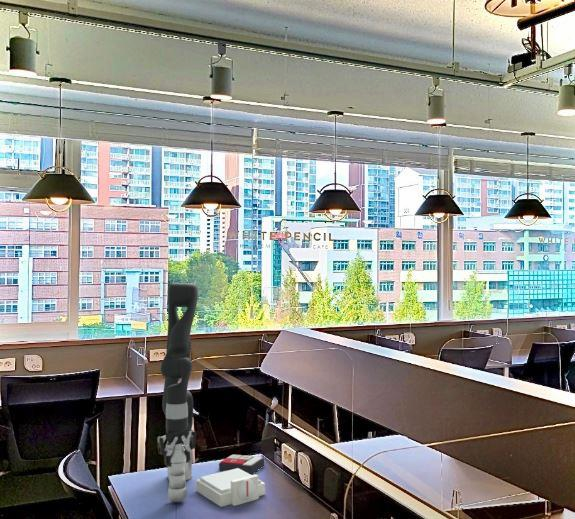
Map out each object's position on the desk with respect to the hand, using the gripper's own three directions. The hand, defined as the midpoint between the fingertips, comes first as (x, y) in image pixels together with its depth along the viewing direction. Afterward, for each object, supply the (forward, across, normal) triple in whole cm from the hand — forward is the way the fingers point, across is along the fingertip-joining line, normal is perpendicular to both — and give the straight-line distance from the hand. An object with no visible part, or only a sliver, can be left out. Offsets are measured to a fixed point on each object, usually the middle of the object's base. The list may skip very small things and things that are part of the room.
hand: (177, 463), depth 205 cm
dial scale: (+13, -19, +5) cm, 24 cm away
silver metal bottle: (+13, 0, 0) cm, 13 cm away
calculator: (+14, -36, -17) cm, 42 cm away
